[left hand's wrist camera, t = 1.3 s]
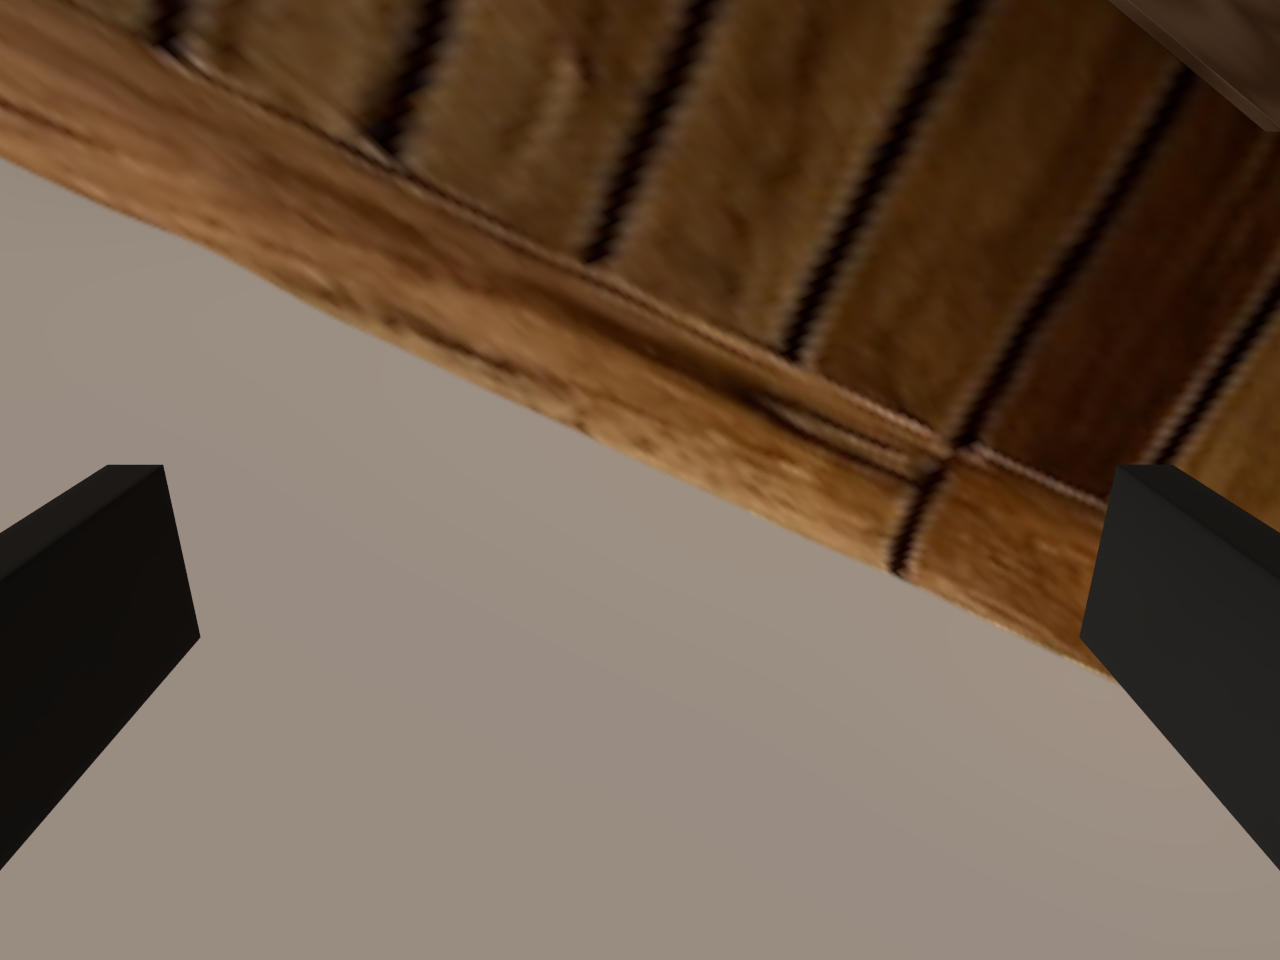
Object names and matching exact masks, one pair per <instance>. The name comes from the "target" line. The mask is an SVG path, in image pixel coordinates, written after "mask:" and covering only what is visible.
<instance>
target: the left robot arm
mask: <svg viewBox="0 0 1280 960" xmlns="http://www.w3.org/2000/svg"><path fill="white" fill-rule="evenodd" d="M199 638H200V633H199V628H198V624H197V619H196V614H195V610H194V605H193V601H192V596H191V591H190V586H189V582H188V578H187V573H186V568H185V563H184V559H183V554H182V550H181V545H180V540H179V536H178V531H177V527H176V522H175V517H174V513H173V508H172V504H171V499H170V494H169V490H168V485H167V480H166V476H165V471H164V467H163V465H107V466H105V467H103V468H102V469H100V470H99V471H97V472H95V473H94V474H92V475H91V476H89V477H88V478H86V479H84V480H83V481H81V482H80V483H78V484H77V485H75V486H73V487H72V488H70V489H69V490H67V491H66V492H64V493H62V494H61V495H59V496H58V497H56V498H55V499H53V500H51V501H50V502H48V503H47V504H45V505H44V506H42V507H41V508H39V509H37V510H36V511H34V512H33V513H31V514H29V515H28V516H26V517H25V518H23V519H22V520H20V521H18V522H17V523H15V524H14V525H12V526H11V527H9V528H7V529H6V530H4V531H3V532H1V533H0V870H1V869H2V868H3V867H4V865H5V864H6V863H7V862H8V861H9V860H10V858H11V857H12V856H13V855H14V854H15V853H16V851H17V850H18V849H19V848H20V847H21V846H22V844H23V843H24V842H25V841H26V840H27V839H28V838H29V836H30V835H31V834H32V833H33V832H34V831H35V829H36V828H37V827H38V826H39V825H40V823H41V822H42V821H43V820H44V819H45V818H46V817H47V815H48V814H49V813H50V812H51V811H52V810H53V808H54V807H55V806H56V805H57V804H58V803H59V801H60V800H61V799H62V798H63V797H64V796H65V794H66V793H67V792H68V791H69V790H70V789H71V787H72V786H73V785H74V784H75V783H76V782H77V780H78V779H79V778H80V777H81V776H82V775H83V773H84V772H85V771H86V770H87V769H88V768H89V766H90V765H91V764H92V763H93V762H94V761H95V759H96V758H97V757H98V756H99V755H100V754H101V752H102V751H103V750H104V749H105V748H106V747H107V746H108V744H109V743H110V742H111V741H112V740H113V739H114V737H115V736H116V735H117V734H118V733H119V732H120V730H121V729H122V728H123V727H124V726H125V725H126V723H127V722H128V721H129V720H130V719H131V718H132V716H133V715H134V714H135V713H136V712H137V711H138V709H139V708H140V707H141V706H142V705H143V704H144V702H145V701H146V700H147V699H148V698H149V697H150V695H151V694H152V693H153V692H154V691H155V690H156V688H157V687H158V686H159V685H160V684H161V683H162V681H163V680H164V679H165V678H166V677H167V676H168V675H169V673H170V672H171V671H172V670H173V669H174V668H175V666H176V665H177V664H178V663H179V662H180V661H181V659H182V658H183V657H184V656H185V655H186V654H187V652H188V651H189V650H190V649H191V648H192V647H193V645H194V644H195V643H196V642H197V641H198V640H199ZM1080 638H1081V640H1082V641H1083V642H1084V643H1085V644H1086V645H1087V647H1088V648H1089V649H1090V650H1091V651H1092V652H1093V654H1094V655H1095V656H1096V657H1097V658H1098V659H1099V661H1100V662H1101V663H1102V664H1103V665H1104V666H1105V668H1106V669H1107V670H1108V671H1109V672H1110V673H1111V675H1112V676H1113V677H1114V678H1115V679H1116V680H1117V682H1118V683H1119V684H1120V685H1121V686H1122V687H1123V688H1124V690H1125V691H1126V692H1127V693H1128V694H1129V695H1130V697H1131V698H1132V699H1133V700H1134V701H1135V702H1136V704H1137V705H1138V706H1139V707H1140V708H1141V709H1142V711H1143V712H1144V713H1145V714H1146V715H1147V716H1148V718H1149V719H1150V720H1151V721H1152V722H1153V723H1154V725H1155V726H1156V727H1157V728H1158V729H1159V730H1160V731H1161V733H1162V734H1163V735H1164V736H1165V737H1166V739H1167V740H1168V741H1169V742H1170V743H1171V744H1172V746H1173V747H1174V748H1175V749H1176V750H1177V751H1178V752H1179V754H1180V755H1181V756H1182V757H1183V758H1184V760H1185V761H1186V762H1187V763H1188V764H1189V765H1190V766H1191V768H1192V769H1193V770H1194V771H1195V772H1196V773H1197V775H1198V776H1199V777H1200V778H1201V779H1202V780H1203V782H1204V783H1205V784H1206V785H1207V786H1208V787H1209V789H1210V790H1211V791H1212V792H1213V793H1214V794H1215V796H1216V797H1217V798H1218V799H1219V800H1220V801H1221V803H1222V804H1223V805H1224V806H1225V807H1226V808H1227V810H1228V811H1229V812H1230V813H1231V814H1232V815H1233V817H1234V818H1235V819H1236V820H1237V821H1238V822H1239V824H1240V825H1241V826H1242V827H1243V828H1244V829H1245V831H1246V832H1247V833H1248V834H1249V835H1250V836H1251V838H1252V839H1253V840H1254V841H1255V842H1256V843H1257V844H1258V846H1259V847H1260V848H1261V849H1262V850H1263V851H1264V853H1265V854H1266V855H1267V856H1268V857H1269V858H1270V860H1271V861H1272V862H1273V863H1274V864H1275V865H1276V867H1277V868H1278V869H1279V870H1280V533H1279V532H1277V531H1276V530H1274V529H1273V528H1271V527H1269V526H1268V525H1266V524H1265V523H1263V522H1262V521H1260V520H1258V519H1257V518H1255V517H1254V516H1252V515H1251V514H1249V513H1247V512H1246V511H1244V510H1243V509H1241V508H1240V507H1238V506H1236V505H1235V504H1233V503H1232V502H1230V501H1229V500H1227V499H1225V498H1224V497H1222V496H1221V495H1219V494H1218V493H1216V492H1214V491H1213V490H1211V489H1210V488H1208V487H1207V486H1205V485H1203V484H1202V483H1200V482H1199V481H1197V480H1196V479H1194V478H1192V477H1191V476H1189V475H1188V474H1186V473H1185V472H1183V471H1181V470H1180V469H1178V468H1177V467H1175V466H1174V465H1117V467H1116V471H1115V476H1114V480H1113V485H1112V490H1111V494H1110V499H1109V503H1108V508H1107V513H1106V517H1105V522H1104V527H1103V531H1102V536H1101V540H1100V545H1099V550H1098V554H1097V559H1096V563H1095V568H1094V573H1093V577H1092V582H1091V586H1090V591H1089V596H1088V600H1087V605H1086V610H1085V614H1084V619H1083V623H1082V628H1081V633H1080Z"/></svg>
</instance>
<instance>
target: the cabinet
mask: <svg viewBox="0 0 1280 960" xmlns="http://www.w3.org/2000/svg"><path fill="white" fill-rule="evenodd" d="M1108 1H1109V2H1111V3H1112V4H1113V5H1114V6H1115V7H1117V8H1118V9H1119V10H1120V11H1121V12H1123V13H1124V14H1125V15H1126V16H1127V17H1129V18H1130V19H1131V20H1132V21H1133V22H1135V23H1136V24H1137V25H1138V26H1139V27H1141V28H1142V29H1143V30H1144V31H1145V32H1147V33H1148V34H1149V35H1150V36H1151V37H1153V38H1154V39H1155V40H1156V41H1157V42H1159V43H1160V44H1161V45H1162V46H1163V47H1165V48H1166V49H1167V50H1168V51H1169V52H1171V53H1172V54H1173V55H1174V56H1175V57H1177V58H1178V59H1179V60H1180V61H1181V62H1183V63H1184V64H1185V65H1186V66H1187V67H1189V68H1190V69H1191V70H1192V71H1193V72H1195V73H1196V74H1197V75H1198V76H1199V77H1201V78H1202V79H1203V80H1204V81H1205V82H1207V83H1208V84H1209V85H1210V86H1211V87H1213V88H1214V89H1215V90H1216V91H1217V92H1219V93H1220V94H1221V95H1222V96H1223V97H1225V98H1226V99H1227V100H1228V101H1229V102H1231V103H1232V104H1233V105H1234V106H1235V107H1237V108H1238V109H1239V110H1240V111H1241V112H1243V113H1244V114H1245V115H1246V116H1247V117H1249V118H1250V119H1251V120H1252V121H1253V122H1255V123H1256V124H1257V125H1258V126H1259V127H1261V128H1262V129H1263V130H1264V131H1265V132H1280V0H1108Z"/></svg>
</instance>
